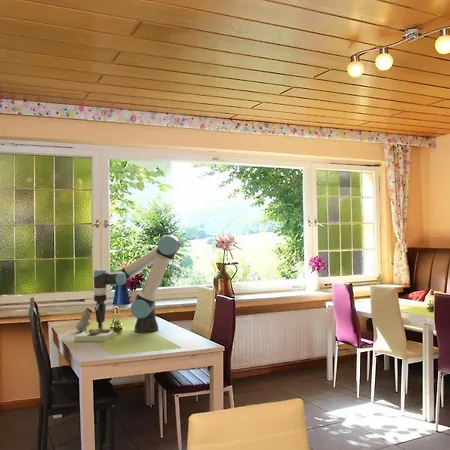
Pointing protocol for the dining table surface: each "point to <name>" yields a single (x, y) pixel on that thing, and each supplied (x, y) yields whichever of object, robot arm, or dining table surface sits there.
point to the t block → (98, 331)
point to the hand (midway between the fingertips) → (100, 332)
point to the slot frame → (100, 337)
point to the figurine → (84, 320)
